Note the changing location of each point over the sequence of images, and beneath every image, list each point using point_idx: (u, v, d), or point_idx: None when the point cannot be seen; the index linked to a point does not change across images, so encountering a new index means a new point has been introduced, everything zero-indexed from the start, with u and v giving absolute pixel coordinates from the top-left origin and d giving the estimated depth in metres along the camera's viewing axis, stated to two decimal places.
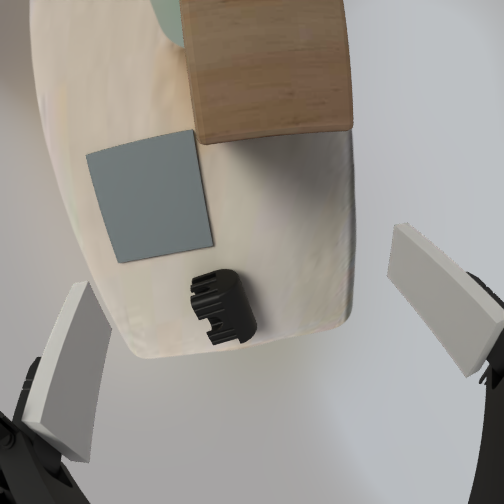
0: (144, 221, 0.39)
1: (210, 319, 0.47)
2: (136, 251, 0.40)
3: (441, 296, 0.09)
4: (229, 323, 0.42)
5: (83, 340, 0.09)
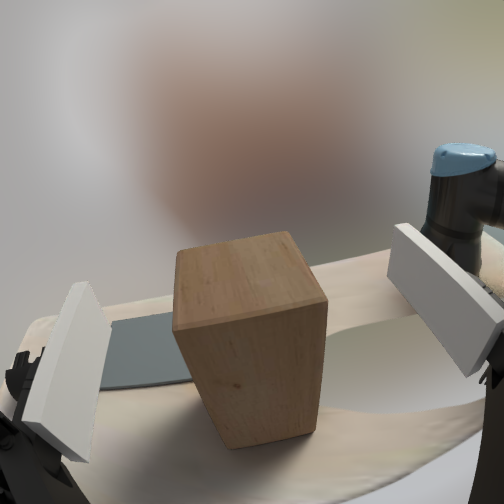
0: (137, 341, 0.43)
1: None
2: (115, 333, 0.45)
3: (441, 296, 0.09)
4: None
5: (83, 340, 0.09)
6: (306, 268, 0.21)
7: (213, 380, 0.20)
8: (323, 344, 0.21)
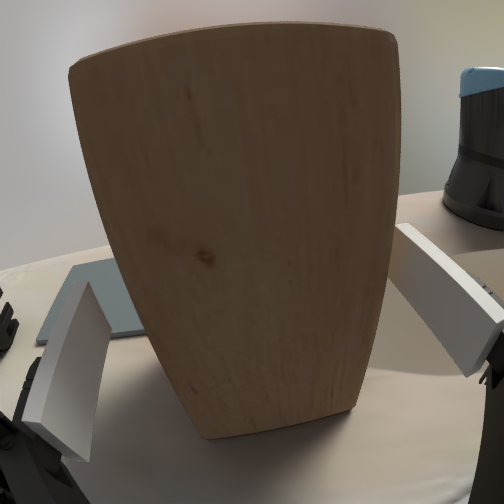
0: (96, 284, 0.31)
1: None
2: (73, 278, 0.33)
3: (441, 296, 0.09)
4: None
5: (83, 340, 0.09)
6: None
7: (148, 231, 0.09)
8: (397, 152, 0.09)
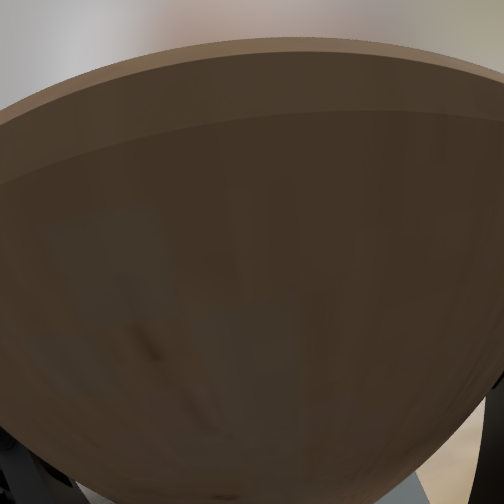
0: None
1: None
2: None
3: None
4: None
5: None
6: None
7: (129, 487, 0.04)
8: None
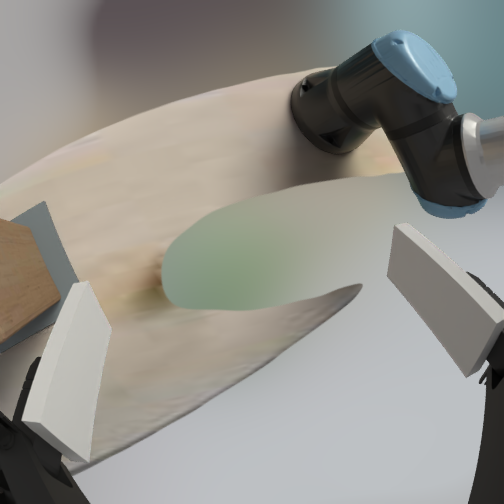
0: None
1: None
2: None
3: (441, 296, 0.09)
4: None
5: (83, 340, 0.09)
6: None
7: None
8: (21, 327, 0.17)
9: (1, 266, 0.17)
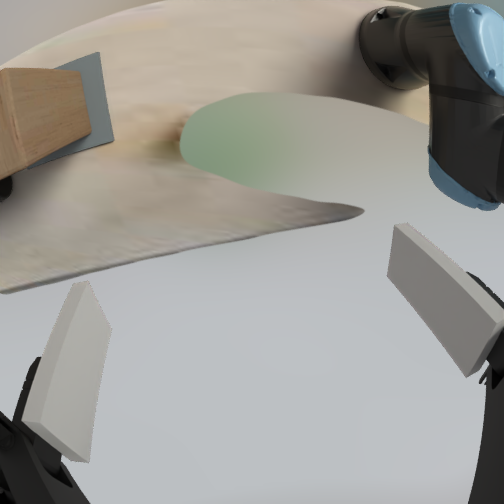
0: None
1: None
2: None
3: (441, 296, 0.09)
4: None
5: (83, 340, 0.09)
6: (13, 132, 0.18)
7: None
8: (43, 157, 0.24)
9: (40, 109, 0.22)
